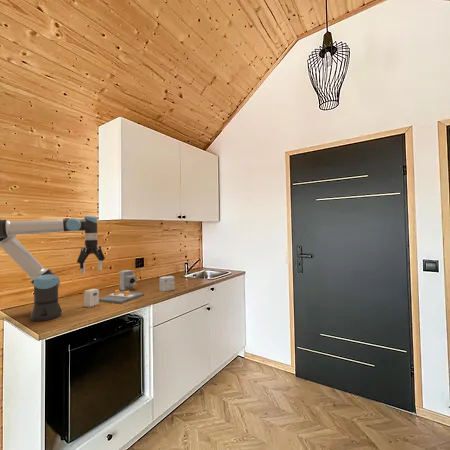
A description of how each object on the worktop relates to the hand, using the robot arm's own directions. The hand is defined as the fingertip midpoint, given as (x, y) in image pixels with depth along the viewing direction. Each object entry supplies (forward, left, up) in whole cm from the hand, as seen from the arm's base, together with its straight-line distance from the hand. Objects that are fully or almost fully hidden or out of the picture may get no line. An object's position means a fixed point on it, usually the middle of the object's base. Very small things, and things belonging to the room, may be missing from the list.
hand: (91, 271), depth 180 cm
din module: (0, 0, -22) cm, 22 cm away
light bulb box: (+53, -23, -22) cm, 62 cm away
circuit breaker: (+45, +9, -22) cm, 51 cm away
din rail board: (+21, -6, -22) cm, 31 cm away
